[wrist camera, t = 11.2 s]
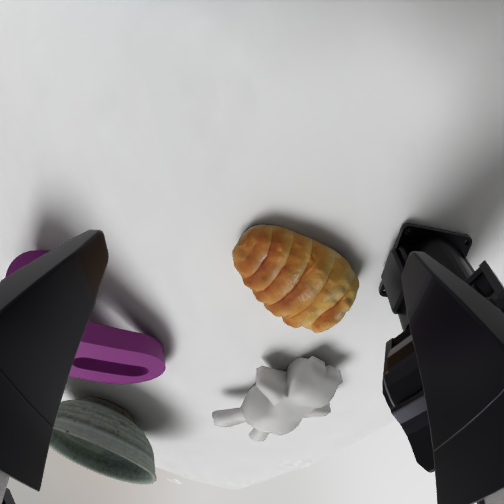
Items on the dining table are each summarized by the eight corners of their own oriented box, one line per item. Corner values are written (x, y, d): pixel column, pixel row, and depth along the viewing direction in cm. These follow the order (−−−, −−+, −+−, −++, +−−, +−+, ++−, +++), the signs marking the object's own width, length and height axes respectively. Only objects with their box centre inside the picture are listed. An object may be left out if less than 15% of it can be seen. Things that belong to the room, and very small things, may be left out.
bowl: (34, 369, 41) (9, 414, 33) (126, 377, 36) (100, 442, 28) (101, 432, 52) (86, 472, 44) (190, 445, 47) (179, 495, 39)
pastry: (217, 260, 25) (207, 292, 22) (270, 196, 22) (266, 223, 18) (309, 317, 27) (310, 351, 24) (366, 268, 24) (375, 300, 21)
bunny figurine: (363, 403, 28) (266, 457, 33) (354, 366, 32) (267, 425, 38) (292, 368, 25) (199, 433, 31) (289, 328, 30) (205, 399, 35)
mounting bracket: (172, 289, 35) (16, 240, 24) (182, 359, 30) (-4, 318, 19) (137, 326, 39) (6, 292, 28) (143, 387, 34) (-5, 359, 23)
